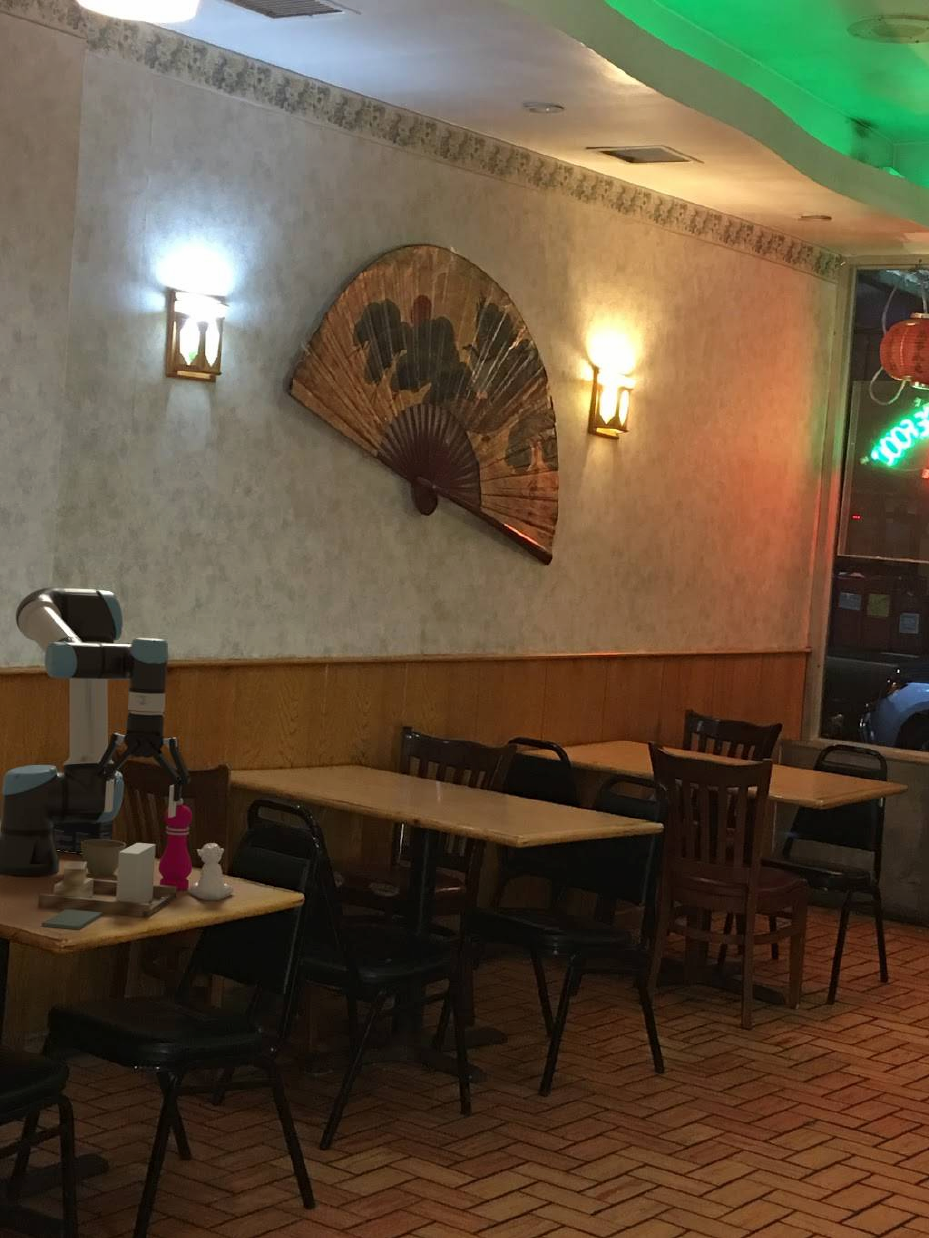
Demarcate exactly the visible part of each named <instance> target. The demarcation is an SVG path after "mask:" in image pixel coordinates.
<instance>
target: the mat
mask: <svg viewBox="0 0 929 1238" xmlns="http://www.w3.org/2000/svg"><path fill="white" fill-rule="evenodd" d="M103 915H104V913H103V912H94V911H84V910H73V909H66V910H64V909H63V910H62V911H61V912H59V913H57V914H55V915H54V916H52V917H50V918H48V919H47V920H45V921H43V922H41V927H50V928H60V929H67V930H68V929H69V930H70V929H71V930H81V929H83V928H85V926H87V925H89V924H91V923H92V922H94V921H95V920H97V919H99V918H100V917H102V916H103Z"/></svg>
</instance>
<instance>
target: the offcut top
mask: <svg viewBox="0 0 929 1238" xmlns="http://www.w3.org/2000/svg"><path fill="white" fill-rule="evenodd" d="M86 878H87V862H84V861H75V860H73V861H72V860H68V861H67V862H66V864H65V866H64V869H63V879H62V881H63V885H70V886H83V884H84V882H85V879H86Z"/></svg>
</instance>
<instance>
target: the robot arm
mask: <svg viewBox="0 0 929 1238" xmlns="http://www.w3.org/2000/svg"><path fill="white" fill-rule="evenodd" d="M122 613H123V612H122V609H121V604H120V601H119V599H118V597H117V596H116V595H115V594H114V593H113V592H111V591H109V590H102V589H97V588H94V589H93V588H92V589H91V588H65V587H63V588H62V587H52V586H51V587H45V588H41V589H40V588H39V589H37V590H35V591H33V592H30V594H27V596H25V597H24V598H23V599H22V600H21V601H20V603H19V604H18V606H17V608H16V612H15V622H16V626H17V628H18V630H19V631H20V632H21V634H22V635H24V637H25V638H27V639H29V640H30V641H34V642H36V644H37V645H38V646H39V648H41V650H42V651H43V652H44V653H45V654H44V666H45V672H46V674H47V675H48V676H49V677H51V678H58V679H59V678H60V679H62V680H68V679H69V757H68V759H67V760H66V761H65V762H64V763H63V764H62V771H58V768H57V766H55V765H52V764H51V765H50V764H34V765H33V764H32V765H31V764H30V765H24V766H18V767H15V768H13V769H10V770H8V771H7V772H6V773H5V774H4V776H3V781H2V789H1V792H0V793H1V808H0V811H1V812H0V874H1V875H6V876H14V877H15V876H19V877H35V876H36V877H37V876H47V875H52V874H55V873H57V872H58V873H59V871H60V858H59V853H58V851H57V850H56V846H55V842H54V839H53V827H54V823H97V822H109V821H111V820H113V821H114V819H115V818H116V817H117V815H118V814H119V811H120V808H121V805H122V803H123V797H124V791H125V790H124V787H125V781H124V777H123V774H122V773H121V772H120V771H119V770H120V768H122V766H123V765H124V764H125V763H126V762H127V761H128V760H129V759H130V758H131V757H132V756H133V757H134V758H141V757H142V758H145V759H151V758H153V759H154V760H155V761H156V762H157V763H158V764H159V766H160V768H161V769H162V770H163V772H164V773H165V775H166V776H167V777H168V778H169V781H171V783H172V785H169V795H168V798H169V799H168V808H169V810H168V817H169V818H172V817H174V816H175V814H176V801H180V799H181V798H182V788H183V786H184V785H187V784H189V783H190V782H191V781H192V778H191V775H190V772H189V770H188V769H187V766H186V763H185V760H184V759H183V756H182V753H181V752H180V749H179V739H178V737H176V736H175V737H172V738H165V737H164V724H165V715H164V714H163V713H164V712H165V709H166V691H167V690H166V687H167V675H168V674H167V672H168V661H169V657H170V656H169V646H168V645H169V644H168V641H167V640H165V639H162V638H155V637H154V638H153V637H136V638H134V639H132V642H131V643H128V642H127V643H123V644H122V643H120V644H119V643H115V641H118V640H119V639H120V638H121V636H122V631H123V629H122V628H123V623H124V622H123V614H122ZM108 680H119V681H120V680H125V681H129V682H128V683H129V686H128V702H127V704H128V705H127V710H128V711H129V713H128V714H127V715H126V716H127V717H126V719H127V720H126V733H125V734H124V735H123V734H120V733H119V732H115V733H112V734H111V735H110V739H109V737H108V736H109V735H108V734H109V732H108V731H109V728H108V727H109V726H108V725H109V723H108V722H109V720H108V717H109V716H108V715H109V714H108V707H109V706H108V704H109V703H108V696H109V695H108ZM123 742H124V744H125V745H126V747H127V748H126V749H125V750H124V751H123V752H122V753H121V755H120V756H119V757H118V758H117V759H116V760H115V761H113V760H112V758H113V756H114V754H115V752H116V750H117V749H118V747H119V746H120V745H121V744H122V743H123ZM164 745H165V746H166V748H167V749H169V752H170V755H171V757H172V759H173V763H174V765H175V767H176V770H177V771H176V770H175V768H174V767H173V765H171V763H170V761H169V760H168V758H167V757H166V756H165V753H164V752H163V750H162V749H161V748H162V747H163V746H164Z"/></svg>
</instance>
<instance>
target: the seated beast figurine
mask: <svg viewBox="0 0 929 1238" xmlns="http://www.w3.org/2000/svg"><path fill="white" fill-rule="evenodd" d="M196 851H197V854H198V856H199V857H201V858H200V859H201V861H202V862H203V863H204V864H203V866H202V868H201V871H200V878H199V880H198V881H197V882H194V883H192V884H191V885H190V886H189V893H190V895H191V894H192V896H194V897H196V898H198V897H199V899H200V898H201V899H200V900H202V899H204V900H203V901H218V900H221V899H224V898H227V897H229V896H232V894H233V892H234V887H233V886H231V885H230V884H227V883H223V869H222V866H221V865H220V864H219V862H220V861H221V859H222V855H223V854H224V852H225V849H224V848H221V846H219V845H218V844H217V843H215V842H213V843H212V842H211V843H210V842H209V843H206V844H204V845H203V847H202V848H201V849H196Z"/></svg>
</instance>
